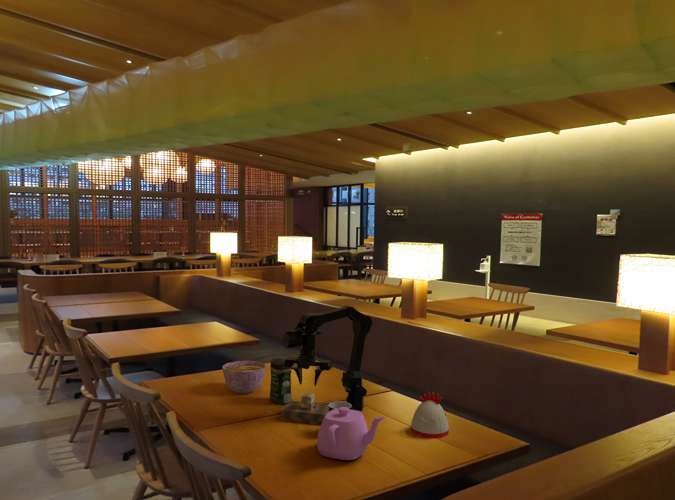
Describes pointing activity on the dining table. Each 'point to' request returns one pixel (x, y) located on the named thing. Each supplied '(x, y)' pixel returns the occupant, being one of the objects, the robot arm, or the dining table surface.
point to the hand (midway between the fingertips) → (308, 385)
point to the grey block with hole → (304, 413)
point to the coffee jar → (280, 382)
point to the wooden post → (307, 401)
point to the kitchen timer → (430, 418)
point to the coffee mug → (339, 405)
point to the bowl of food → (244, 375)
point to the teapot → (345, 434)
